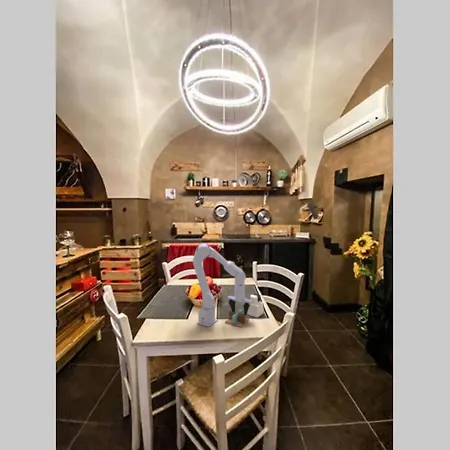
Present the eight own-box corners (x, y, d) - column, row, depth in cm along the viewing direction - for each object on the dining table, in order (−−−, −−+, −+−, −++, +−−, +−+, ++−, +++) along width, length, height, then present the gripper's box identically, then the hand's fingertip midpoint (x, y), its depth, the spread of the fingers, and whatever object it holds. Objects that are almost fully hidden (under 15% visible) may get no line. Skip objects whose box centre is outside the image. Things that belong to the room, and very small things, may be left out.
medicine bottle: (253, 310, 159) (253, 291, 158) (263, 313, 154) (263, 294, 153) (247, 314, 153) (247, 295, 152) (257, 317, 149) (257, 297, 148)
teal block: (234, 323, 140) (234, 316, 140) (232, 323, 141) (232, 316, 140) (242, 316, 149) (242, 310, 148) (240, 316, 149) (240, 309, 149)
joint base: (241, 327, 137) (241, 318, 137) (224, 323, 142) (224, 314, 142) (248, 320, 146) (248, 312, 146) (233, 316, 151) (233, 308, 151)
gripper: (254, 291, 145) (254, 314, 146) (231, 286, 152) (231, 308, 154) (248, 295, 139) (248, 319, 140) (225, 290, 146) (225, 313, 148)
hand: (239, 314), depth 147 cm, fingers open, 7 cm apart
